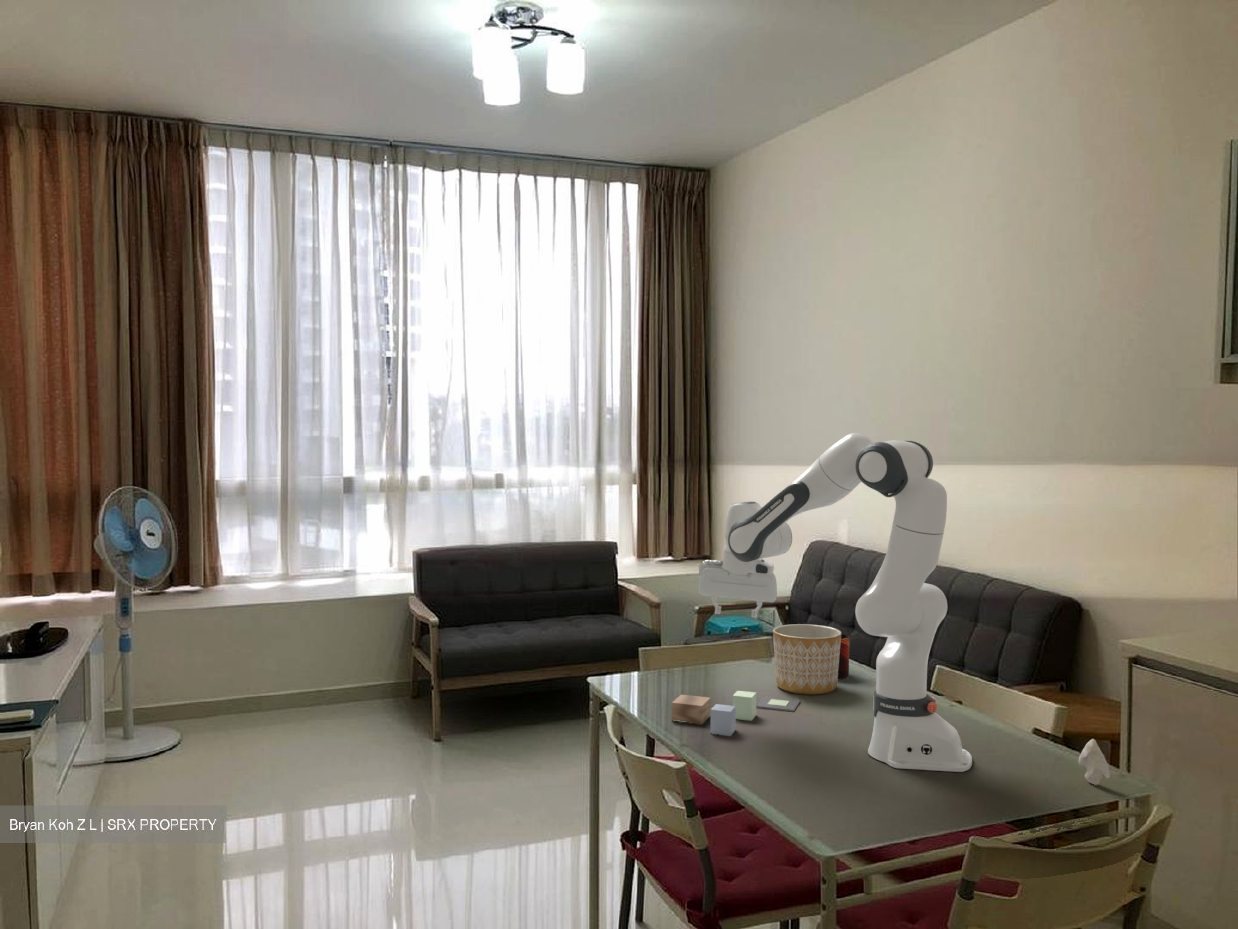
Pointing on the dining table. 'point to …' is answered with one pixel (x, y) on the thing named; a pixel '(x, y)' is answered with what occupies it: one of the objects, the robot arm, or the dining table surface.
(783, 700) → the card
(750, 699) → the sage block
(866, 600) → the robot arm
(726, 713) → the slate block
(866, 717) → the dining table surface
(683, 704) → the walnut base
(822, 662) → the planter
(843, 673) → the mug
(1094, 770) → the arrowhead
